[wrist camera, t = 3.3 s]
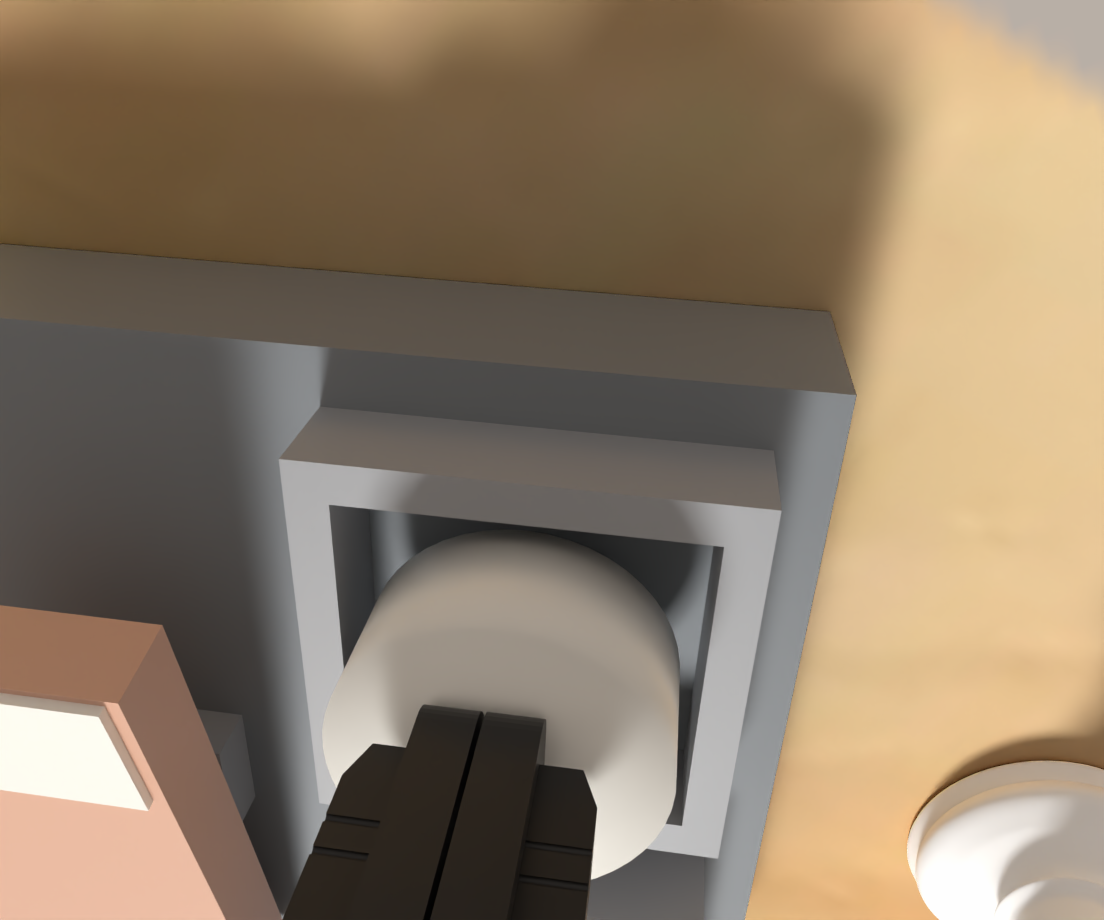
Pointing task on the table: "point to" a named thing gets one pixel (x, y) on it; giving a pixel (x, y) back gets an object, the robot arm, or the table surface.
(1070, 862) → the chess piece
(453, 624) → the white button
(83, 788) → the rocker
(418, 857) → the robot arm
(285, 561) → the panel
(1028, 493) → the table surface
